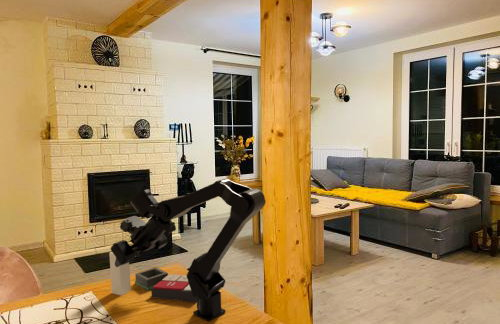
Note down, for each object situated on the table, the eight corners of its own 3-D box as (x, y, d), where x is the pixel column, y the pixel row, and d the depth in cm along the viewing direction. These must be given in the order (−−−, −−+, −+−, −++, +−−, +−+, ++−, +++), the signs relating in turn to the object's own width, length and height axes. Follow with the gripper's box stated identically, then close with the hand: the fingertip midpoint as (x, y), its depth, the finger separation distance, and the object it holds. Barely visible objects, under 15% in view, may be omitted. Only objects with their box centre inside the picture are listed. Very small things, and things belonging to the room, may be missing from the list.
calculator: (168, 273, 123) (210, 275, 118) (169, 285, 123) (211, 288, 118) (150, 286, 112) (195, 289, 108) (151, 300, 112) (196, 303, 108)
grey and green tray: (169, 282, 123) (168, 272, 123) (147, 290, 117) (146, 280, 117) (156, 276, 128) (155, 266, 128) (135, 283, 123) (134, 273, 123)
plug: (130, 290, 117) (128, 246, 116) (121, 295, 114) (118, 250, 113) (121, 288, 119) (119, 245, 118) (111, 293, 116) (109, 249, 114)
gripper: (159, 202, 118) (134, 232, 124) (113, 215, 102) (88, 249, 108) (179, 229, 116) (153, 258, 122) (136, 247, 99) (108, 280, 105)
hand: (127, 260), depth 114 cm, fingers open, 9 cm apart
